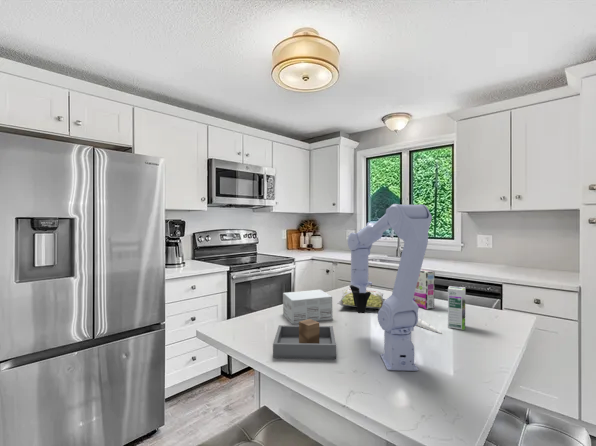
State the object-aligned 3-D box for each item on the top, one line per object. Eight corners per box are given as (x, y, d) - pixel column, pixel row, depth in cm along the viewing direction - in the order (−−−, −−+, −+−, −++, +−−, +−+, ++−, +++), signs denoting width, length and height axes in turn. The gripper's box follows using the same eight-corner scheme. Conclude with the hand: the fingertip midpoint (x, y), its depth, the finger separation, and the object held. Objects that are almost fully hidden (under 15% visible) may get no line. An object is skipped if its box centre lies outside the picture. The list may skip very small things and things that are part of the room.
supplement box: (320, 310, 141) (320, 289, 141) (332, 319, 129) (332, 296, 129) (282, 314, 136) (282, 291, 136) (291, 324, 123) (291, 299, 123)
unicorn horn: (434, 336, 111) (434, 322, 111) (388, 316, 133) (388, 305, 133) (444, 334, 113) (444, 320, 113) (397, 315, 135) (397, 303, 135)
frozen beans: (337, 297, 140) (341, 284, 165) (336, 310, 140) (341, 296, 165) (387, 301, 136) (384, 287, 160) (387, 315, 136) (383, 299, 161)
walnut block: (319, 345, 101) (319, 322, 101) (308, 348, 99) (308, 325, 98) (310, 340, 105) (310, 318, 105) (298, 344, 102) (298, 321, 102)
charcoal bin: (336, 359, 93) (336, 345, 93) (273, 357, 94) (273, 344, 94) (332, 338, 109) (332, 326, 109) (278, 337, 110) (278, 325, 110)
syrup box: (447, 328, 119) (447, 288, 118) (448, 323, 124) (448, 285, 124) (465, 330, 116) (465, 289, 116) (465, 325, 121) (465, 286, 121)
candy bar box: (435, 308, 143) (435, 271, 143) (426, 310, 141) (426, 272, 141) (415, 302, 153) (416, 267, 153) (407, 303, 151) (408, 268, 151)
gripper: (376, 272, 102) (375, 316, 102) (368, 265, 116) (367, 303, 117) (353, 272, 102) (353, 316, 102) (348, 265, 117) (348, 303, 117)
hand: (359, 309), depth 110 cm, fingers open, 7 cm apart
